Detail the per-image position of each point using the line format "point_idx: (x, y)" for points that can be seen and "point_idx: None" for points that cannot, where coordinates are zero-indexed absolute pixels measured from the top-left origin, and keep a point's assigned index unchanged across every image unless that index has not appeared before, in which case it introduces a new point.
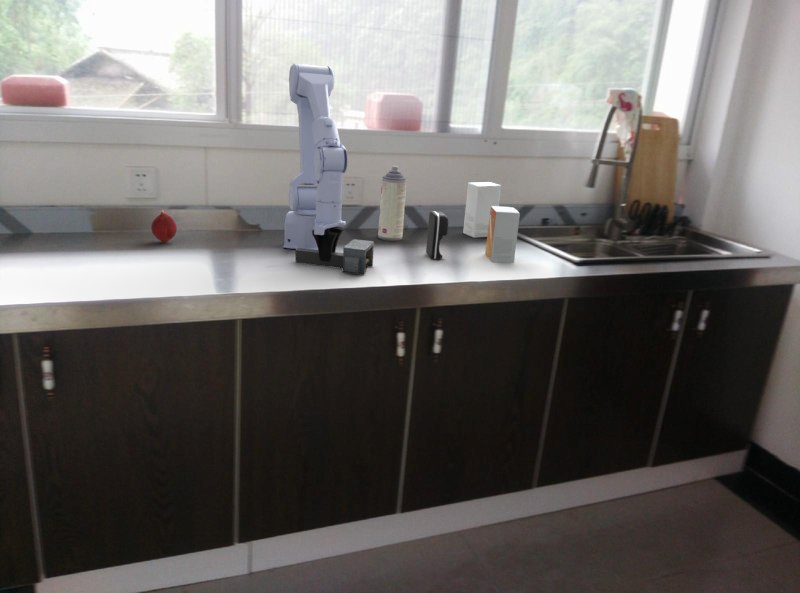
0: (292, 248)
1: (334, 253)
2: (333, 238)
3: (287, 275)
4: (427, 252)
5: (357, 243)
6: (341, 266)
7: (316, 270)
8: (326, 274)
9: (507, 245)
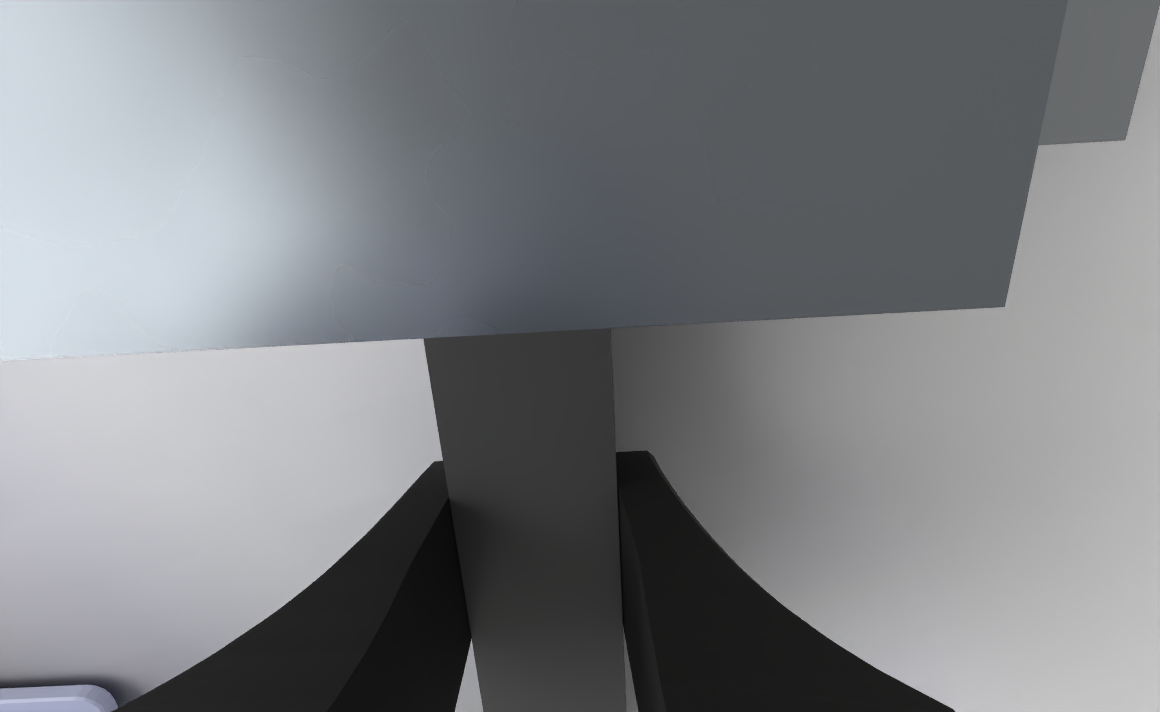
0: None
1: (533, 469)
2: (920, 693)
3: (1097, 638)
4: None
5: (358, 99)
6: None
7: (820, 479)
8: (955, 331)
9: None
